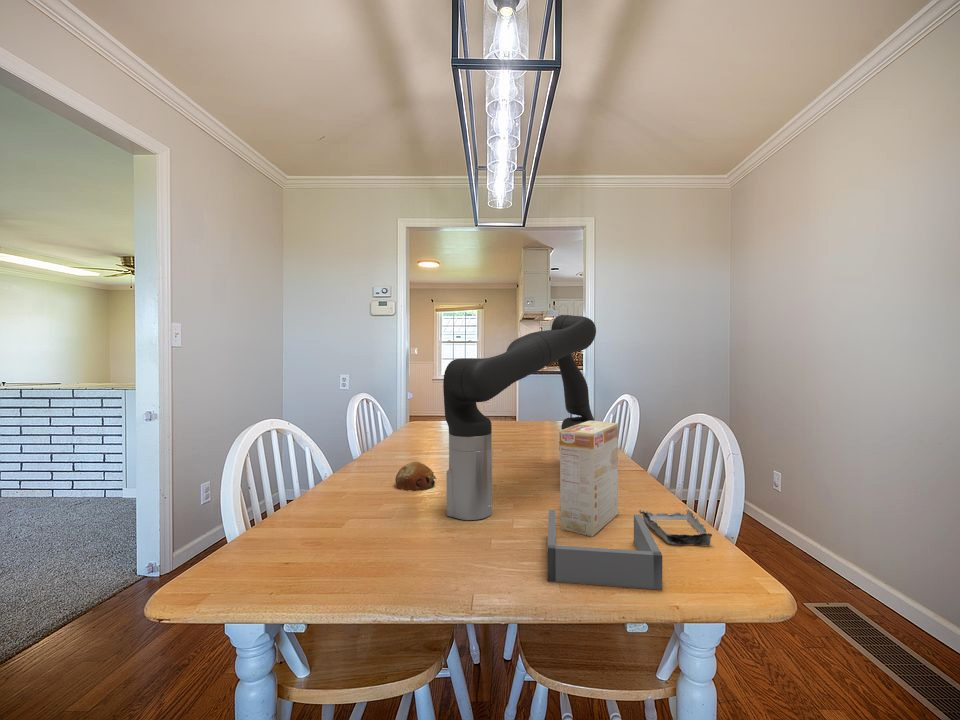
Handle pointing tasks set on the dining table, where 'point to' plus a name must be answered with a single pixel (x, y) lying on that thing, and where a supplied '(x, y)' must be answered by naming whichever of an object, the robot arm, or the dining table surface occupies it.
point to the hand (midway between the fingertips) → (586, 454)
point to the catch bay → (606, 561)
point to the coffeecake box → (588, 476)
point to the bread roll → (415, 477)
